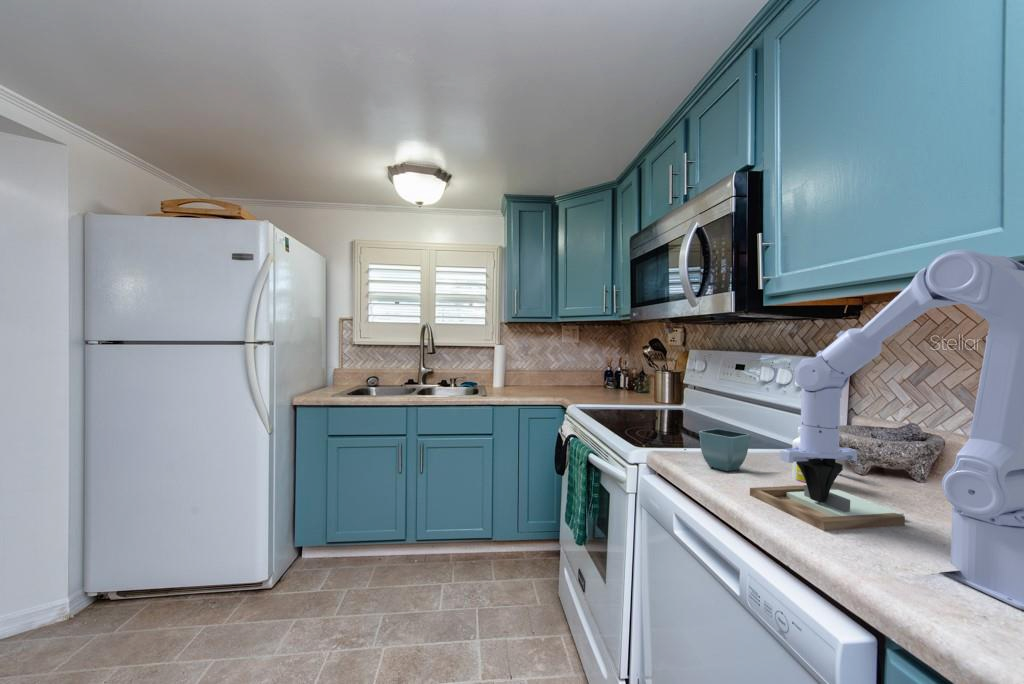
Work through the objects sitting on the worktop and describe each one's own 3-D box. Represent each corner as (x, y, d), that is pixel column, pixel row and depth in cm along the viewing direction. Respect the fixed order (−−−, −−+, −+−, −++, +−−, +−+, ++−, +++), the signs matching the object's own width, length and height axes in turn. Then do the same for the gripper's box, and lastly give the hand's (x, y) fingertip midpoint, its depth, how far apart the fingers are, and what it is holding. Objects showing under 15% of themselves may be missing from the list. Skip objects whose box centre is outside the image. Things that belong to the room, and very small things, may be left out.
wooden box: (904, 534, 71) (904, 516, 71) (823, 540, 68) (823, 521, 68) (818, 499, 87) (818, 484, 87) (749, 502, 84) (749, 487, 84)
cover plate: (903, 519, 74) (903, 501, 74) (845, 523, 71) (846, 505, 71) (837, 494, 85) (838, 479, 85) (786, 497, 83) (786, 481, 83)
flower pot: (716, 461, 114) (717, 427, 114) (750, 470, 106) (751, 434, 106) (697, 466, 109) (698, 431, 109) (731, 475, 101) (732, 437, 101)
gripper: (832, 420, 83) (831, 491, 83) (767, 421, 80) (766, 494, 80) (869, 428, 76) (867, 505, 76) (800, 429, 73) (798, 509, 73)
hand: (817, 500), depth 77 cm, fingers closed
